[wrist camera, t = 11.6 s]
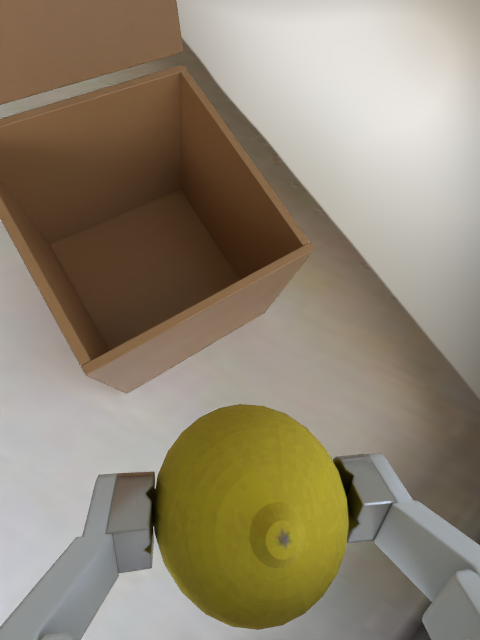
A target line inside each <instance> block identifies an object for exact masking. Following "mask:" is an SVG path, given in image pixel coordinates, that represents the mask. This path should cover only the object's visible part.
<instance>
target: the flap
mask: <svg viewBox="0 0 480 640" xmlns="http://www.w3.org/2000/svg"><path fill="white" fill-rule="evenodd" d="M182 52H183V45H182V38H181V31H180V24H179V17H178V9H177V2H176V0H0V105H1V104H4V103H8V102H11V101H15V100H18V99H22V98H25V97H29V96H32V95H36V94H39V93H42V92H46V91H49V90H53V89H56V88H60V87H63V86H67V85H70V84H74V83H77V82H81V81H84V80H88V79H91V78H95V77H98V76H102V75H105V74H109V73H112V72H116V71H119V70H123V69H126V68H130V67H133V66H137V65H140V64H144V63H147V62H150V61H154V60H157V59H161V58H164V57H168V56H171V55H175V54H178V53H182Z"/></svg>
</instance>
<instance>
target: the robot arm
mask: <svg viewBox="0 0 480 640" xmlns="http://www.w3.org/2000/svg"><path fill="white" fill-rule="evenodd" d="M333 463H334V464H335V466H336V468H337V470H338V472H339V475H340V478H341V481H342V485H343V488H344V491H345V495H346V498H347V508H348V520H349V527H348V535H347V543H352V542H363V541H373V540H374V543H375V544H376V545H377V546H378V547H379V548H380V549H381V550H382V551H383V552H384V553H385V554H386V555H387V556H388V557H389V558H390V559H391V560H392V561H393V562H394V563H395V564H396V566H397V567H398V568H399V569H400V570H401V571H402V572H403V573H404V574H405V575H406V576H407V577H408V578H409V579H410V580H411V581H412V582H413V583H414V584H415V585H416V586H417V587H418V588H419V589H420V590H421V591H422V592H423V593H424V594H425V595H426V596H427V597H428V598H429V599H430V600H431V601H432V604H431V605H430V607H429V608H428V609H427V611H426V612H425V613H424V615H423V619H422V622H423V624H424V626H425V628H426V630H427V632H428V634H429V636H430V638H431V640H480V545H478V544H477V543H476V542H474V541H473V540H471V539H470V538H469V537H467V536H466V535H465V534H463V533H462V532H460V531H459V530H458V529H456V528H455V527H454V526H452V525H451V524H449V523H448V522H447V521H445V520H444V519H442V518H441V517H440V516H438V515H437V514H436V513H434V512H433V511H431V510H430V509H429V508H427V507H426V506H424V505H423V504H422V503H420V502H419V501H413V500H412V498H411V497H410V495H409V493H408V492H407V490H406V489H405V487H404V486H403V484H402V483H401V481H400V480H399V478H398V476H397V475H396V473H395V472H394V470H393V469H392V467H391V466H390V464H389V463H388V461H387V459H386V458H385V456H383V455H382V454H381V453H376V454H366V455H364V454H360V455H350V456H339V457H335V458H334V459H333ZM154 487H155V473H154V472H136V473H117V474H103V475H98V477H97V479H96V482H95V486H94V490H93V494H92V498H91V503H90V507H89V511H88V515H87V519H86V523H85V527H84V532H83V536H82V537H76V538H75V539H74V541H73V542H72V543H71V544H70V545H69V546H68V548H67V549H66V550H65V551H64V552H63V554H62V555H61V556H60V557H59V558H58V559H57V561H56V562H55V563H54V564H53V565H52V567H51V568H50V569H49V570H48V571H47V572H46V574H45V575H44V576H43V577H42V578H41V580H40V581H39V582H38V583H37V584H36V585H35V587H34V588H33V589H32V590H31V591H30V593H29V594H28V595H27V596H26V597H25V598H24V600H23V601H22V602H21V603H20V604H19V606H18V607H17V608H16V609H15V610H14V611H13V613H12V614H11V615H10V616H9V617H8V619H7V620H6V621H5V622H4V623H3V624H2V626H1V627H0V640H81V638H82V636H83V635H84V633H85V631H86V630H87V628H88V626H89V625H90V623H91V621H92V620H93V618H94V616H95V615H96V613H97V611H98V610H99V608H100V606H101V605H102V603H103V601H104V600H105V598H106V596H107V594H108V593H109V591H110V589H111V588H112V586H113V584H114V583H115V581H116V579H117V578H118V576H119V575H118V573H124V572H130V571H136V570H143V569H149V568H152V559H153V544H154V537H153V526H154V497H155V488H154Z"/></svg>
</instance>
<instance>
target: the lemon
mask: <svg viewBox="0 0 480 640" xmlns="http://www.w3.org/2000/svg"><path fill="white" fill-rule="evenodd" d="M348 527H349V520H348V508H347V498H346V495H345V491H344V488H343V485H342V481H341V478H340V475H339V472H338V470H337V468H336V466H335V464H334V463H333V461H332V459H331V457H330V456H329V454H328V452H327V450H326V449H325V448H324V446H323V445H322V444H321V443H320V442H319V441H318V440H317V439H316V438H315V437H314V435H313V434H312V433H311V432H310V431H309V430H308V429H307V428H306V427H304V426H303V425H301V424H300V423H298V422H297V421H295V420H294V419H292V418H291V417H289V416H288V415H286V414H285V413H282V412H279V411H276V410H273V409H270V408H267V407H264V406H256V405H242V404H239V405H234V406H229V407H223V408H219V409H217V410H215V411H213V412H211V413H209V414H207V415H204V416H202V417H200V418H199V419H198V420H196V421H195V422H194V423H193V424H192V425H190V426H189V427H188V428H187V429H186V430H184V431H183V432H182V433H181V435H180V436H179V437H178V439H177V440H176V441H175V443H174V444H173V445H172V447H171V448H170V450H169V451H168V453H167V455H166V457H165V460H164V462H163V464H162V467H161V469H160V471H159V474H158V478H157V483H156V489H155V497H154V530H155V535H156V539H157V542H158V545H159V548H160V552H161V555H162V558H163V561H164V564H165V566H166V567H167V569H168V571H169V572H170V574H171V575H172V577H173V579H174V580H175V582H176V584H177V585H178V587H179V588H180V590H181V591H182V593H183V594H184V595H185V596H187V597H188V598H189V599H190V600H191V601H192V602H193V603H194V604H195V605H196V606H197V607H198V608H200V609H201V610H202V611H203V612H204V613H205V614H206V615H209V616H211V617H213V618H215V619H217V620H219V621H221V622H223V623H225V624H228V625H230V626H233V627H241V628H249V629H257V630H259V629H264V628H270V627H275V626H280V625H284V624H286V623H287V622H289V621H291V620H293V619H295V618H297V617H299V616H301V615H303V614H304V613H306V612H307V611H308V610H309V609H310V608H311V607H312V606H313V605H314V604H315V603H316V602H317V601H318V600H319V599H320V598H321V597H322V596H323V595H324V594H325V592H326V591H327V589H328V587H329V586H330V584H331V583H332V581H333V580H334V578H335V576H336V575H337V573H338V570H339V567H340V564H341V561H342V559H343V556H344V553H345V550H346V543H347V535H348Z"/></svg>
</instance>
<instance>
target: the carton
mask: <svg viewBox="0 0 480 640" xmlns="http://www.w3.org/2000/svg"><path fill="white" fill-rule="evenodd" d="M0 219H1V221H2V223H3V224H4V226H5V228H6V230H7V232H8V234H9V235H10V237H11V239H12V241H13V243H14V245H15V247H16V248H17V250H18V252H19V254H20V256H21V258H22V259H23V261H24V263H25V265H26V267H27V269H28V270H29V272H30V274H31V276H32V278H33V280H34V281H35V283H36V285H37V287H38V289H39V291H40V292H41V294H42V296H43V298H44V300H45V302H46V303H47V305H48V307H49V309H50V311H51V313H52V315H53V316H54V318H55V320H56V322H57V324H58V326H59V327H60V329H61V331H62V333H63V335H64V337H65V338H66V340H67V342H68V344H69V346H70V348H71V349H72V351H73V353H74V355H75V357H76V359H77V360H78V362H79V364H80V365H81V368H82V370H83V371H84V373H85V375H87V376H89V377H91V378H93V379H95V380H98V381H100V382H102V383H104V384H107V385H109V386H111V387H113V388H116V389H118V390H120V391H122V392H124V393H129V392H131V391H132V390H134V389H136V388H137V387H139V386H141V385H143V384H144V383H146V382H148V381H149V380H151V379H153V378H154V377H156V376H158V375H160V374H161V373H163V372H165V371H166V370H168V369H170V368H171V367H173V366H175V365H176V364H178V363H180V362H182V361H183V360H185V359H187V358H188V357H190V356H192V355H193V354H195V353H197V352H199V351H200V350H202V349H204V348H205V347H207V346H209V345H210V344H212V343H214V342H216V341H217V340H219V339H221V338H222V337H224V336H226V335H227V334H229V333H231V332H232V331H234V330H236V329H238V328H239V327H241V326H243V325H244V324H246V323H248V322H249V321H251V320H253V319H255V318H256V317H258V316H260V315H261V314H263V313H265V312H266V310H267V309H268V308H269V307H270V305H271V304H272V303H273V302H274V300H275V299H276V298H277V296H278V295H279V294H280V293H281V291H282V290H283V289H284V288H285V286H286V285H287V284H288V282H289V281H290V280H291V279H292V277H293V276H294V275H295V274H296V272H297V271H298V270H299V268H300V267H301V266H302V265H303V263H304V262H305V261H306V260H307V258H308V257H309V256H310V254H311V253H312V252H313V251H314V247H313V246H312V245H311V243H309V240H308V239H307V238H306V236H305V235H304V233H303V232H302V231H301V229H300V228H299V226H298V225H297V224H296V222H295V221H294V219H293V218H292V217H291V215H290V214H289V212H288V211H287V210H286V208H285V207H284V205H283V204H282V203H281V201H280V200H279V198H278V197H277V196H276V194H275V193H274V191H273V190H272V189H271V187H270V186H269V184H268V183H267V182H266V180H265V179H264V177H263V176H262V175H261V173H260V172H259V170H258V169H257V168H256V166H255V165H254V163H253V162H252V161H251V159H250V158H249V156H248V155H247V153H246V152H245V151H244V149H243V148H242V146H241V145H240V144H239V142H238V141H237V139H236V138H235V137H234V135H233V134H232V132H231V131H230V130H229V128H228V127H227V125H226V124H225V123H224V121H223V120H222V118H221V117H220V116H219V114H218V113H217V111H216V110H215V109H214V107H213V106H212V104H211V103H210V102H209V100H208V99H207V97H206V96H205V95H204V93H203V92H202V90H201V89H200V88H199V86H198V85H197V83H196V82H195V81H194V79H193V78H192V76H191V75H190V74H189V72H188V71H187V69H186V68H185V67H184V65H179V66H176V67H173V68H169V69H166V70H163V71H159V72H156V73H153V74H149V75H146V76H143V77H139V78H136V79H133V80H129V81H126V82H123V83H119V84H116V85H112V86H109V87H106V88H102V89H99V90H96V91H92V92H89V93H86V94H82V95H79V96H76V97H72V98H69V99H66V100H62V101H59V102H56V103H52V104H49V105H46V106H42V107H39V108H36V109H32V110H29V111H26V112H22V113H19V114H16V115H12V116H9V117H5V118H2V119H0Z"/></svg>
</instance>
